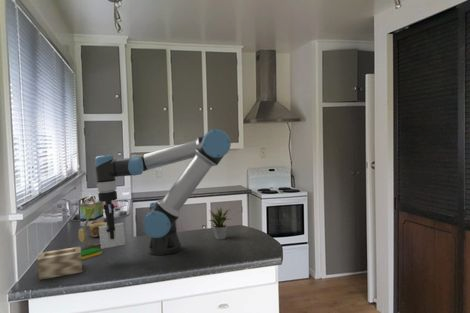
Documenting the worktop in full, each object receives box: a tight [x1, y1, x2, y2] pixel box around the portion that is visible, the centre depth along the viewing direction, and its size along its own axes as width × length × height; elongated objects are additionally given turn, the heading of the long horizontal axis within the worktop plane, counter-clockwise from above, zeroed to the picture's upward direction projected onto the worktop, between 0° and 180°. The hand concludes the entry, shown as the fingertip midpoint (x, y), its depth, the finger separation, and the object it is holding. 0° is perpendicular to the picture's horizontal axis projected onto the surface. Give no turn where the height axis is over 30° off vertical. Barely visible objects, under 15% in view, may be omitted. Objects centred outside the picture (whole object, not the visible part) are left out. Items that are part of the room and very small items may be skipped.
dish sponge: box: [81, 247, 103, 261], centre depth 170 cm, size 7×14×2 cm, turn 141°
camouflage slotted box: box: [37, 245, 83, 281], centre depth 150 cm, size 16×10×8 cm
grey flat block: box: [99, 222, 126, 250], centre depth 158 cm, size 10×3×9 cm, turn 113°
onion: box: [89, 221, 106, 238], centre depth 208 cm, size 10×9×10 cm
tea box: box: [79, 199, 105, 227], centre depth 243 cm, size 15×10×15 cm, turn 179°
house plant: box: [208, 207, 232, 240], centre depth 187 cm, size 14×14×16 cm
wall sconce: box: [78, 197, 107, 247], centre depth 187 cm, size 14×10×25 cm
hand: (112, 245), depth 158 cm, fingers closed on grey flat block, 3 cm apart
